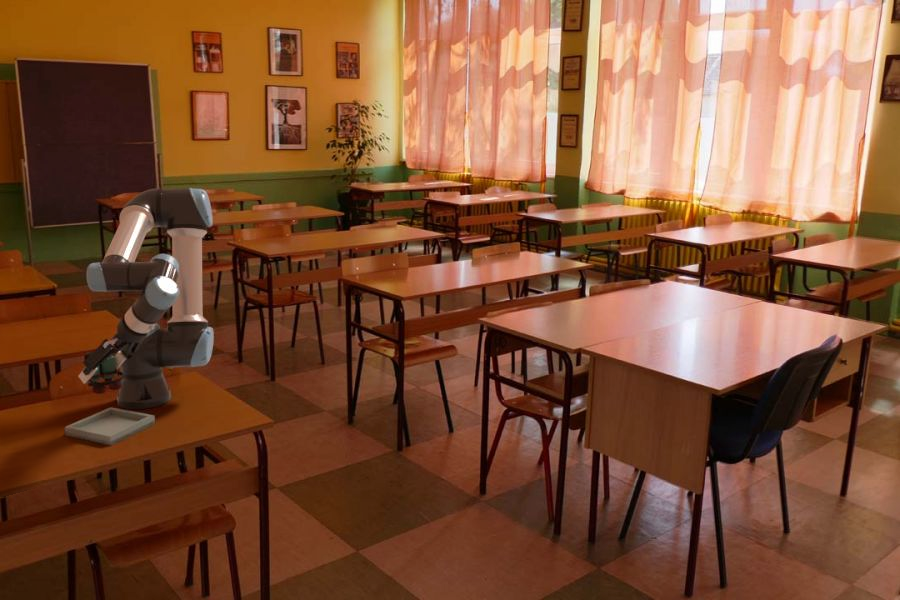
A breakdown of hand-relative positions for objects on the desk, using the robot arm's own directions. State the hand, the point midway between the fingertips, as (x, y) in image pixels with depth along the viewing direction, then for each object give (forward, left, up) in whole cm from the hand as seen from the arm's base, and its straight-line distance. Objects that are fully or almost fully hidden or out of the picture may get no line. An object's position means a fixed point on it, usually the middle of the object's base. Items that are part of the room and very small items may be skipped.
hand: (96, 374), depth 213 cm
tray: (0, +3, -16) cm, 16 cm away
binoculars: (0, +3, -4) cm, 5 cm away
